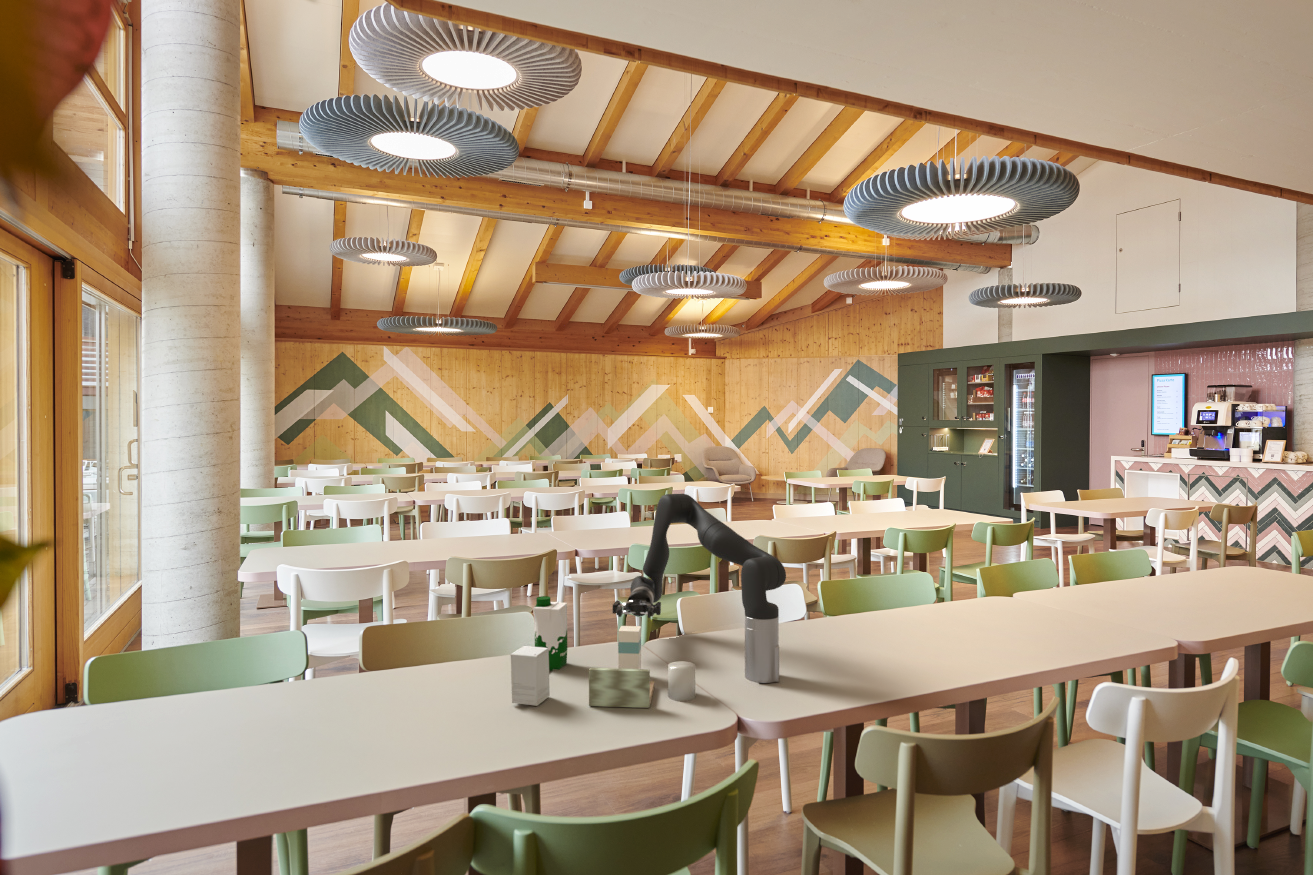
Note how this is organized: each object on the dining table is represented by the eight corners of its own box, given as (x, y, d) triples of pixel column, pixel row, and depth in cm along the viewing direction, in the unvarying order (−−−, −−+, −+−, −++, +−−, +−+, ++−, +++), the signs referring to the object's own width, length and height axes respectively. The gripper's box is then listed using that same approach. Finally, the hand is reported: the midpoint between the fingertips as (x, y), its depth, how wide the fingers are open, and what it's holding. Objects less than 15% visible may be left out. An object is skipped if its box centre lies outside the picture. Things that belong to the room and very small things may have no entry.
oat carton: (641, 676, 215) (641, 626, 215) (638, 683, 209) (638, 631, 209) (621, 675, 215) (621, 625, 215) (618, 682, 210) (618, 630, 210)
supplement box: (550, 695, 199) (549, 647, 198) (537, 706, 192) (536, 656, 191) (525, 692, 201) (524, 644, 201) (510, 703, 194) (509, 653, 194)
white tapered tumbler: (695, 692, 202) (696, 661, 202) (694, 701, 195) (694, 669, 195) (669, 691, 203) (669, 660, 203) (667, 700, 196) (667, 669, 196)
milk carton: (541, 660, 229) (540, 593, 228) (571, 662, 227) (570, 595, 226) (531, 670, 220) (530, 601, 219) (561, 672, 218) (560, 602, 218)
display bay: (654, 688, 205) (654, 654, 205) (649, 707, 191) (649, 671, 191) (598, 686, 206) (598, 653, 206) (589, 705, 192) (588, 669, 192)
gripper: (618, 588, 240) (609, 600, 224) (663, 589, 239) (658, 601, 223) (617, 612, 240) (609, 625, 224) (663, 613, 239) (658, 627, 223)
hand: (634, 613), depth 223 cm, fingers open, 8 cm apart
